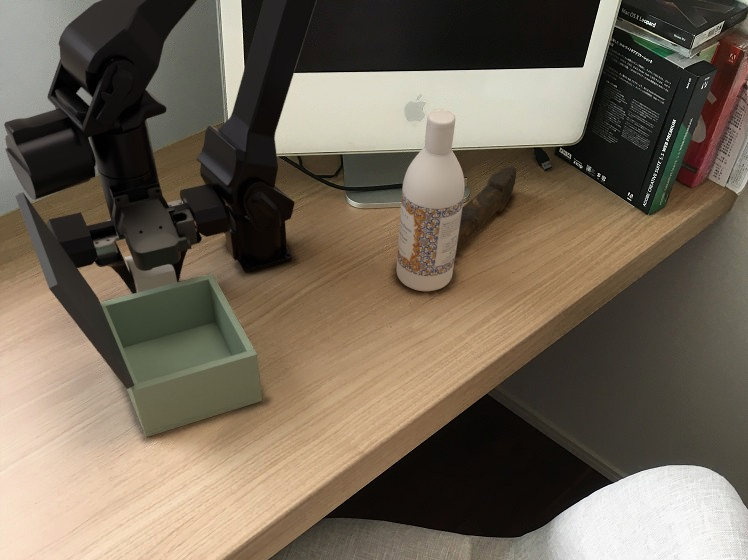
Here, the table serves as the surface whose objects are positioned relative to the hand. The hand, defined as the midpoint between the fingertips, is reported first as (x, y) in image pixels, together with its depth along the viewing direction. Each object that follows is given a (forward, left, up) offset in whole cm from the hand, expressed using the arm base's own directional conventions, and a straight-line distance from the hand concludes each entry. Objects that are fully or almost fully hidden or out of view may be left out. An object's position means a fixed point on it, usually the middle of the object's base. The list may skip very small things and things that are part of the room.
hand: (155, 288), depth 92 cm
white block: (0, 0, -1) cm, 1 cm away
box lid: (+9, +14, +13) cm, 21 cm away
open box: (+1, +14, -1) cm, 14 cm away
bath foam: (-31, +9, -1) cm, 32 cm away
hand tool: (-42, +2, -1) cm, 42 cm away
